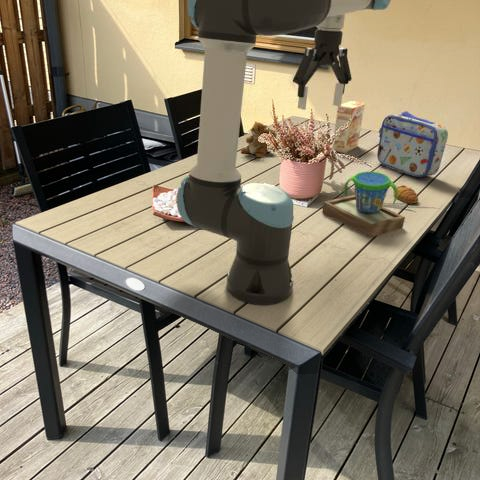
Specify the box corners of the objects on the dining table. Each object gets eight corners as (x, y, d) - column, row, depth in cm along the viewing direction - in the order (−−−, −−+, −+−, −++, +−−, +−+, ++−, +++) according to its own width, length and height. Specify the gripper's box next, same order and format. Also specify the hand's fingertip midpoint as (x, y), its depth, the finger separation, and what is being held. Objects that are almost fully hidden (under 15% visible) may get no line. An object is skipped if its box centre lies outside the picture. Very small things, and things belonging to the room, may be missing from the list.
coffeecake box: (345, 153, 215) (353, 107, 206) (330, 150, 218) (337, 105, 209) (358, 146, 226) (365, 102, 218) (343, 143, 230) (350, 100, 221)
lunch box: (368, 162, 205) (378, 108, 196) (385, 158, 211) (395, 106, 201) (423, 183, 186) (437, 124, 176) (440, 179, 191) (455, 121, 181)
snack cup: (399, 207, 152) (403, 176, 147) (388, 221, 144) (392, 189, 139) (350, 197, 159) (353, 167, 154) (337, 210, 151) (340, 179, 146)
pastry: (422, 204, 167) (425, 193, 165) (405, 205, 165) (407, 195, 163) (407, 194, 175) (409, 184, 173) (390, 195, 173) (392, 185, 171)
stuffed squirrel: (238, 152, 207) (240, 121, 201) (262, 147, 216) (264, 117, 210) (255, 158, 201) (258, 126, 195) (279, 153, 210) (282, 122, 204)
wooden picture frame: (369, 237, 141) (372, 226, 139) (322, 212, 155) (323, 201, 154) (402, 227, 148) (404, 217, 146) (354, 204, 163) (355, 194, 161)
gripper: (302, 30, 128) (294, 112, 138) (371, 31, 141) (359, 107, 150) (285, 27, 134) (278, 107, 143) (352, 28, 146) (342, 102, 156)
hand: (319, 107), depth 147 cm, fingers open, 13 cm apart
